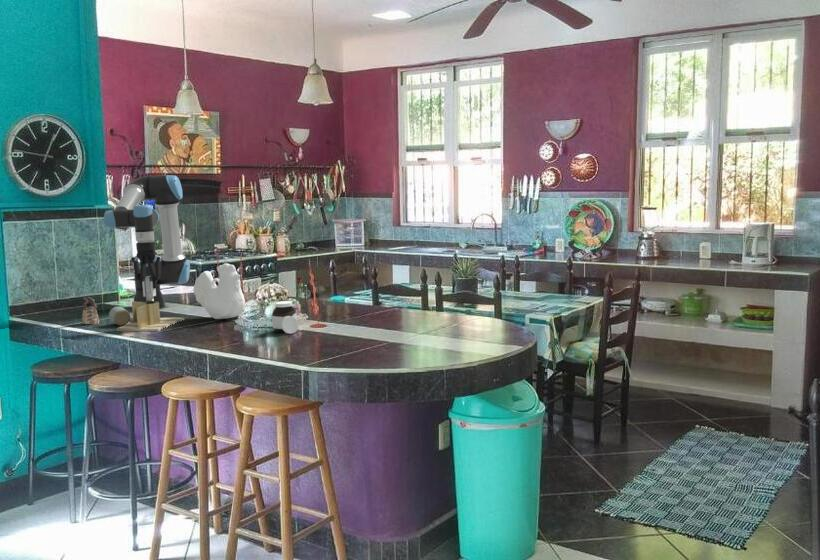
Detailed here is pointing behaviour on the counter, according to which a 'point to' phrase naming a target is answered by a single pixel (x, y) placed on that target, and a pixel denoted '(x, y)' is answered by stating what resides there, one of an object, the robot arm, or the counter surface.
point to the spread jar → (284, 317)
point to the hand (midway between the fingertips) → (149, 295)
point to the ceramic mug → (120, 316)
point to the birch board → (163, 323)
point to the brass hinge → (146, 313)
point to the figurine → (89, 312)
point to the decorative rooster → (220, 292)
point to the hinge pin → (148, 290)
